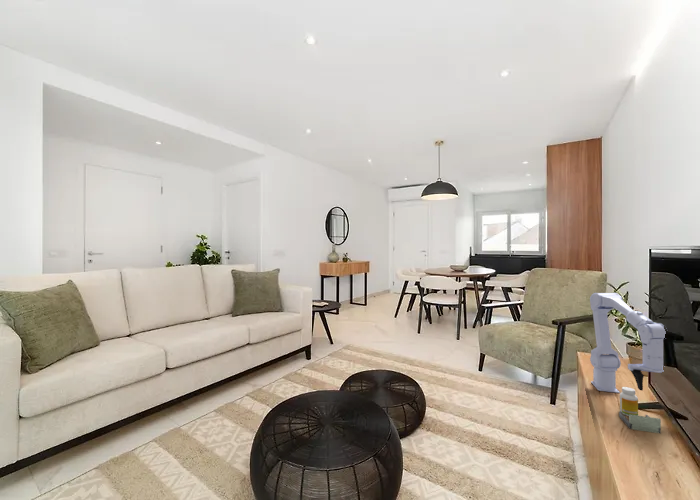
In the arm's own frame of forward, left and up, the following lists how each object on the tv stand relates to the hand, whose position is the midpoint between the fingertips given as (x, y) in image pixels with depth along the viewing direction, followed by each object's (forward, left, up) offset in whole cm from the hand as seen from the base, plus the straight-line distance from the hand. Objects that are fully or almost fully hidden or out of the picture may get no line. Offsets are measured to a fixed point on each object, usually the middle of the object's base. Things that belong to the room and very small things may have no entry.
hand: (652, 390), depth 120 cm
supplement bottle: (-1, -7, -10) cm, 13 cm away
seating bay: (+6, -7, -10) cm, 14 cm away
